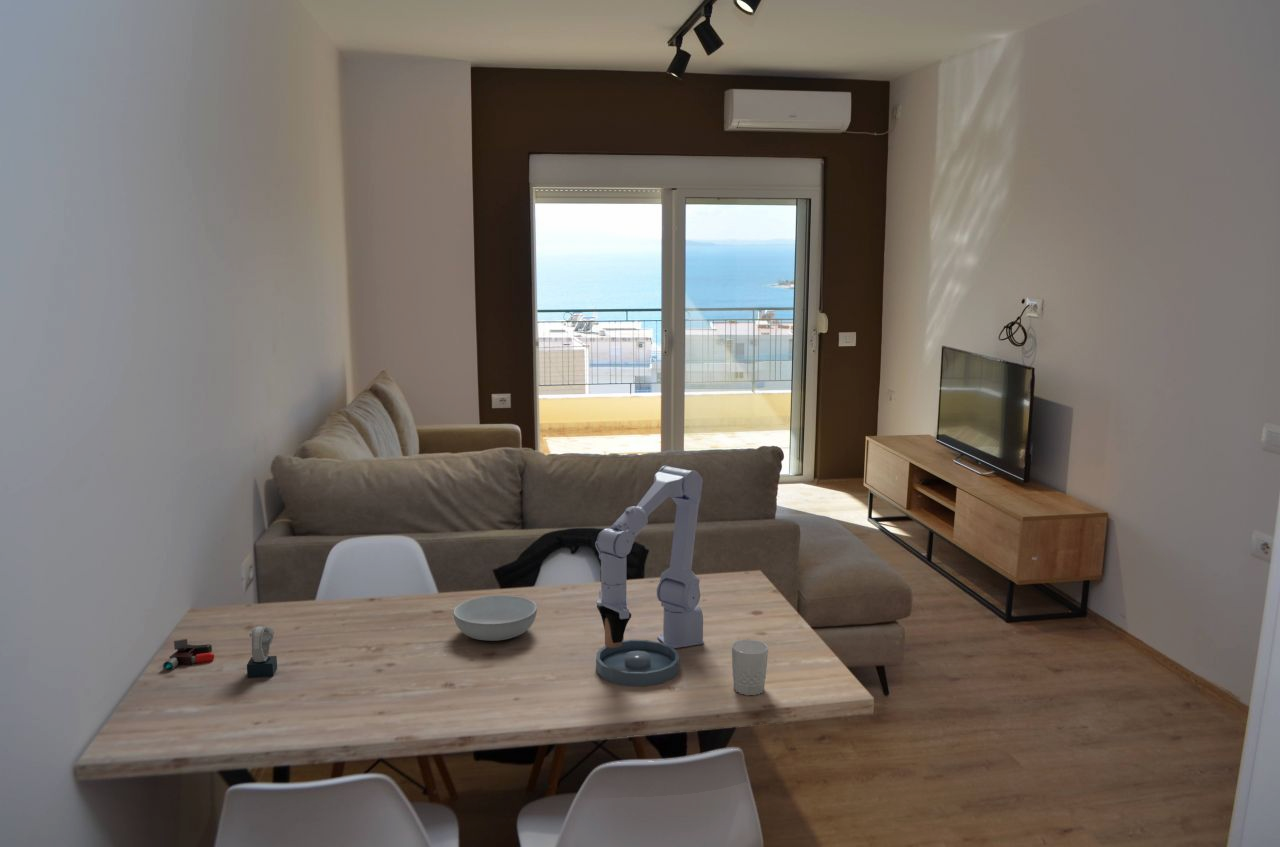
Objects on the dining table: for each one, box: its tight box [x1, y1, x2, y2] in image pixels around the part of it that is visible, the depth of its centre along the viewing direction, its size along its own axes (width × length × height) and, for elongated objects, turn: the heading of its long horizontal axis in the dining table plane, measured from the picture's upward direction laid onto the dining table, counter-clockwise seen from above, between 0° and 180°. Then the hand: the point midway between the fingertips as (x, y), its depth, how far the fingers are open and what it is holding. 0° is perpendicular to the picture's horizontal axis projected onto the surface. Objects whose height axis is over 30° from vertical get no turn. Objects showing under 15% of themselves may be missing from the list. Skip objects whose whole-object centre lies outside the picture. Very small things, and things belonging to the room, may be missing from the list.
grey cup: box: [731, 639, 769, 696], centre depth 210 cm, size 8×8×10 cm
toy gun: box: [162, 638, 215, 671], centre depth 223 cm, size 10×12×5 cm
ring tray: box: [595, 639, 680, 687], centre depth 221 cm, size 19×19×3 cm
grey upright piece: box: [246, 624, 278, 679], centre depth 217 cm, size 6×8×11 cm
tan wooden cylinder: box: [604, 617, 622, 648], centre depth 217 cm, size 4×4×6 cm
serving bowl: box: [452, 594, 538, 642], centre depth 241 cm, size 21×21×7 cm
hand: (613, 638), depth 218 cm, fingers closed on tan wooden cylinder, 4 cm apart
